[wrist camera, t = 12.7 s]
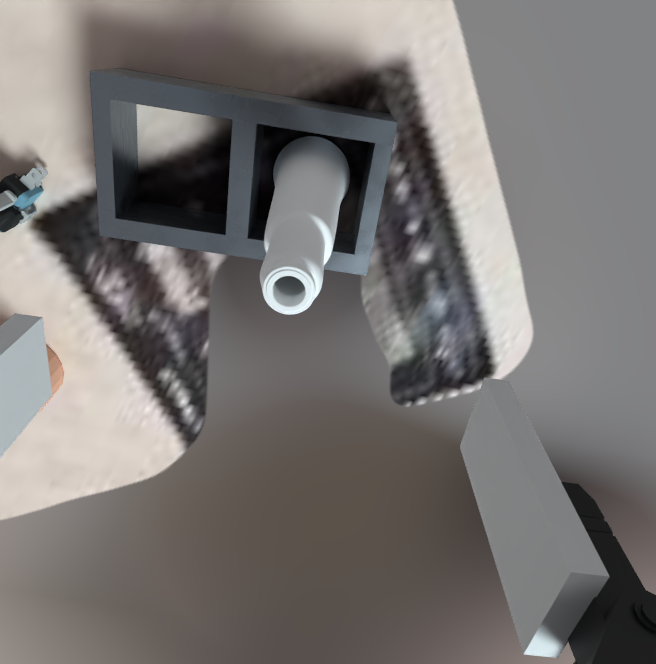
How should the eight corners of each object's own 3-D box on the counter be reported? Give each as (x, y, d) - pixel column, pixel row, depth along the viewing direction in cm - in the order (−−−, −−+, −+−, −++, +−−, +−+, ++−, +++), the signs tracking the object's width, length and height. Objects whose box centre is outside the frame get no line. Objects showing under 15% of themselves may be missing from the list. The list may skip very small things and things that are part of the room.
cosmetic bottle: (268, 205, 42) (209, 340, 23) (279, 128, 39) (223, 205, 20) (341, 220, 42) (344, 364, 23) (357, 145, 40) (377, 237, 20)
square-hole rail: (124, 216, 43) (99, 235, 38) (118, 68, 37) (89, 70, 33) (363, 252, 44) (366, 275, 39) (390, 113, 39) (397, 122, 34)
